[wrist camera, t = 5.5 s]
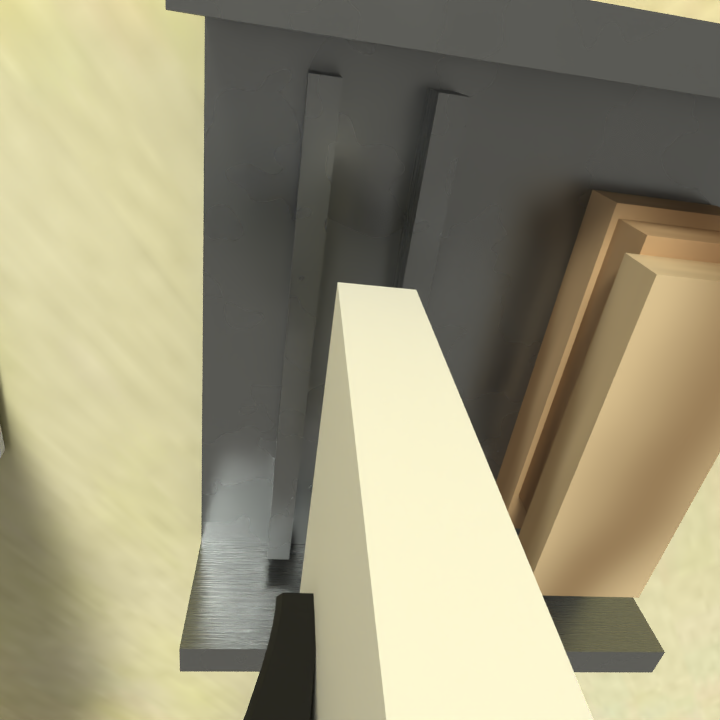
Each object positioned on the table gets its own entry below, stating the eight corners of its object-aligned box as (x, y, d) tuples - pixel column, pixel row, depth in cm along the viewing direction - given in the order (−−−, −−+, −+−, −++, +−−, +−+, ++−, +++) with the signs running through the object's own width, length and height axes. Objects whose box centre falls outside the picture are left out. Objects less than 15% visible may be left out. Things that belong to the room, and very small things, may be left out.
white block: (290, 670, 16) (274, 1185, 9) (337, 282, 11) (399, 838, 3) (341, 670, 17) (367, 1174, 9) (416, 289, 11) (638, 829, 4)
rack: (205, 539, 24) (180, 671, 19) (212, -39, 14) (163, -77, 9) (586, 552, 26) (651, 672, 21) (812, 65, 17) (1027, 79, 12)
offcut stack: (485, 499, 22) (523, 597, 18) (586, 188, 17) (672, 236, 13) (590, 503, 23) (648, 599, 19) (722, 206, 17) (844, 257, 13)
